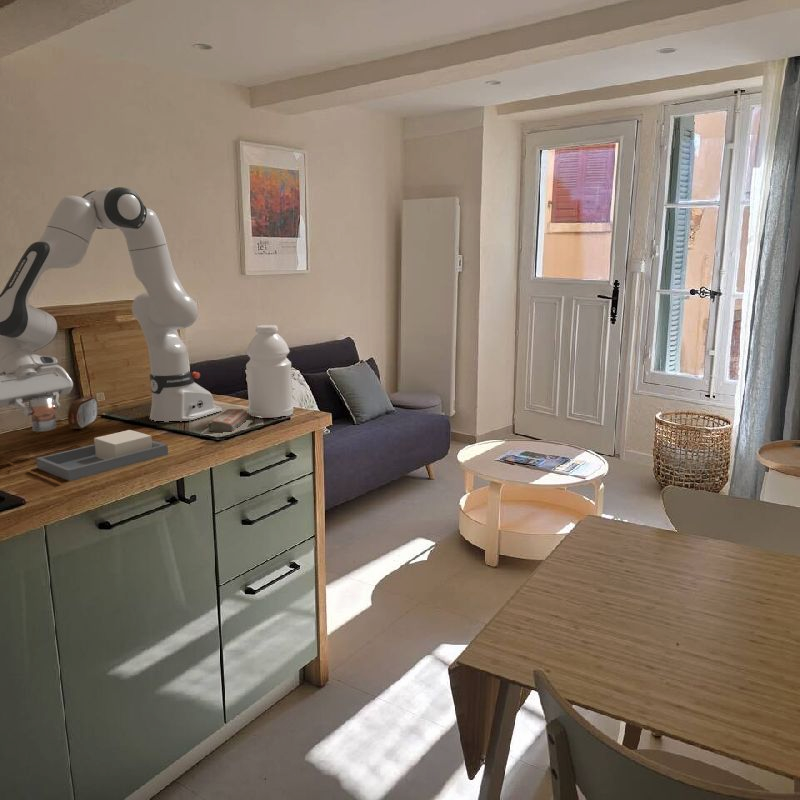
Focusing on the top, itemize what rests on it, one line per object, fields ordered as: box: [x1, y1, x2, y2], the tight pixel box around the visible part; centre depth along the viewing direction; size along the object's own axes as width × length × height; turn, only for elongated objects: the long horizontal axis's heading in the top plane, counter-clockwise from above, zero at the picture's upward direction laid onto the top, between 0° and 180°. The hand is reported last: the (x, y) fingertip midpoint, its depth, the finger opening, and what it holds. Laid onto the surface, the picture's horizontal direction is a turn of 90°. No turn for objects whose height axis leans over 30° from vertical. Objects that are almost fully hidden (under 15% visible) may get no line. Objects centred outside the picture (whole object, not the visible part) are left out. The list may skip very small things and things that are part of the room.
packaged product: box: [199, 408, 248, 436], centre depth 211 cm, size 18×5×10 cm
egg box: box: [93, 429, 153, 460], centre depth 185 cm, size 10×10×5 cm
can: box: [28, 396, 58, 432], centre depth 186 cm, size 6×6×8 cm
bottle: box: [245, 324, 294, 417], centre depth 226 cm, size 14×14×28 cm
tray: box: [35, 440, 169, 482], centre depth 181 cm, size 26×16×3 cm, turn 141°
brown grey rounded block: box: [67, 395, 99, 430], centre depth 217 cm, size 15×3×8 cm, turn 178°
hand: (43, 411), depth 185 cm, fingers closed on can, 6 cm apart
